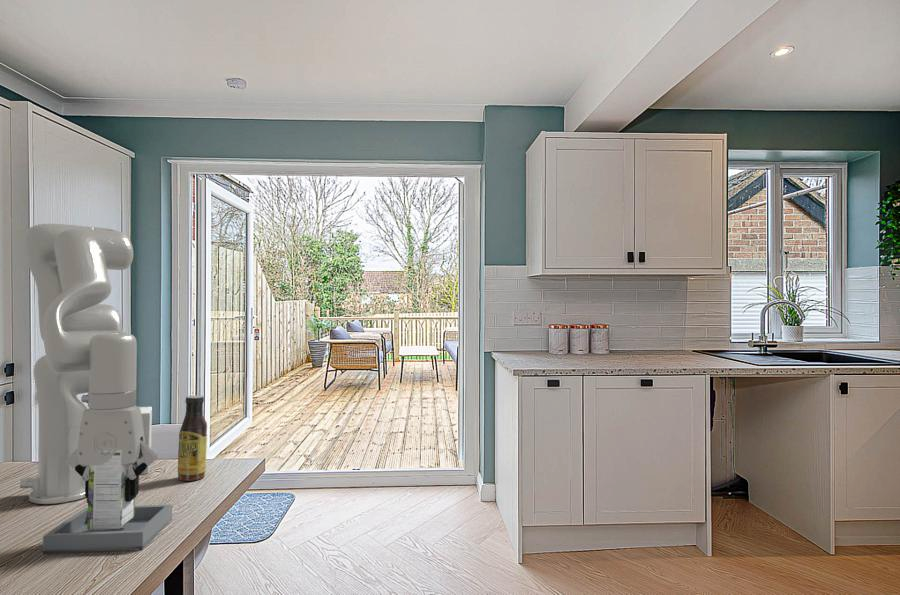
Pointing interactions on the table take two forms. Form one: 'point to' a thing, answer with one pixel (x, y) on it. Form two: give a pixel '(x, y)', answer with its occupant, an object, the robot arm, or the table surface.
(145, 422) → the skincare box
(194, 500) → the table surface
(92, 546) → the tray
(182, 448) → the sauce bottle
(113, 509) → the syrup box
